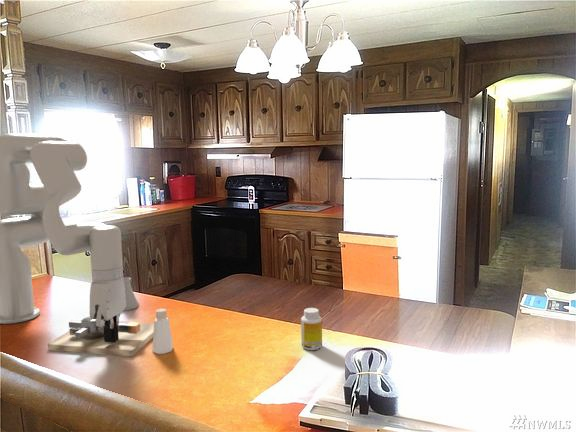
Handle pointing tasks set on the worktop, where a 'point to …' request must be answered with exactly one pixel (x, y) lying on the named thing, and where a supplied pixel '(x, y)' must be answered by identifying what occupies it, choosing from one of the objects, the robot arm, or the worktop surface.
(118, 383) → the worktop surface
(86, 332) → the capstan
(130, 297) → the flask
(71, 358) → the worktop surface
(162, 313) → the pepper shaker
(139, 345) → the wooden flat board
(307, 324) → the supplement bottle
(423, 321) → the worktop surface
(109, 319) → the robot arm
